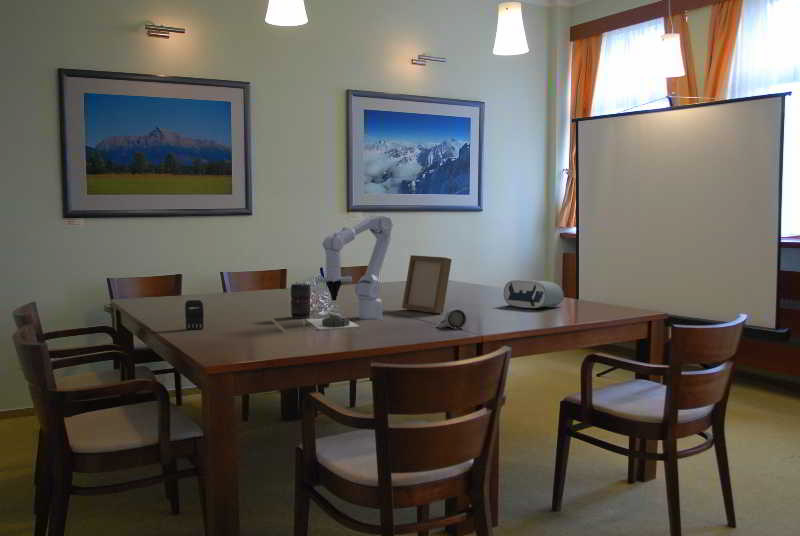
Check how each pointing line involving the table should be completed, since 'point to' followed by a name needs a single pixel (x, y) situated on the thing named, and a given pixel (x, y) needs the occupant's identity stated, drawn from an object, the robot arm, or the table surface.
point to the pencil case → (532, 294)
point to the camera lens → (300, 301)
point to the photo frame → (426, 283)
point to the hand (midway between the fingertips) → (333, 300)
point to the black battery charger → (194, 314)
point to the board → (333, 324)
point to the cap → (335, 317)
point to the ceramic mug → (454, 319)
